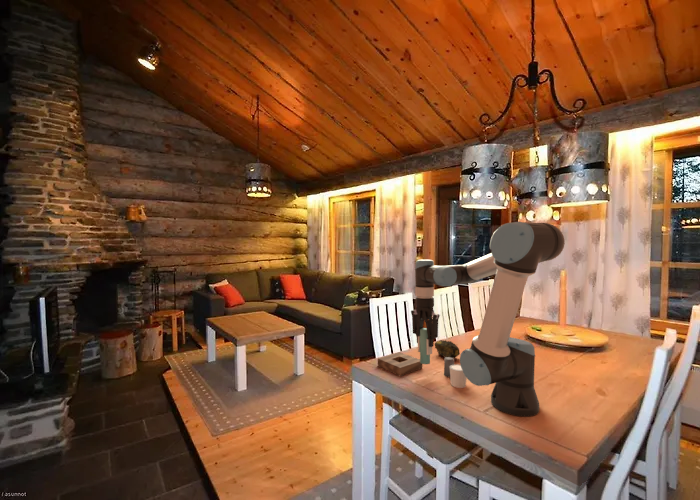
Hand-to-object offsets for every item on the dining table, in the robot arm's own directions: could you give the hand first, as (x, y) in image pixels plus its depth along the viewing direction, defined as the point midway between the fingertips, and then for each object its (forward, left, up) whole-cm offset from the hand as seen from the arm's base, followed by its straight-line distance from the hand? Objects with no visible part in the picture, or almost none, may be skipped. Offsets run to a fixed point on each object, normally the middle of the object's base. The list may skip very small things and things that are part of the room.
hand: (425, 352), depth 145 cm
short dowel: (-5, -9, -10) cm, 15 cm away
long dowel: (0, 0, -4) cm, 4 cm away
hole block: (+14, +1, -10) cm, 17 cm away
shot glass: (-13, -4, -10) cm, 17 cm away
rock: (+9, -27, -10) cm, 30 cm away
